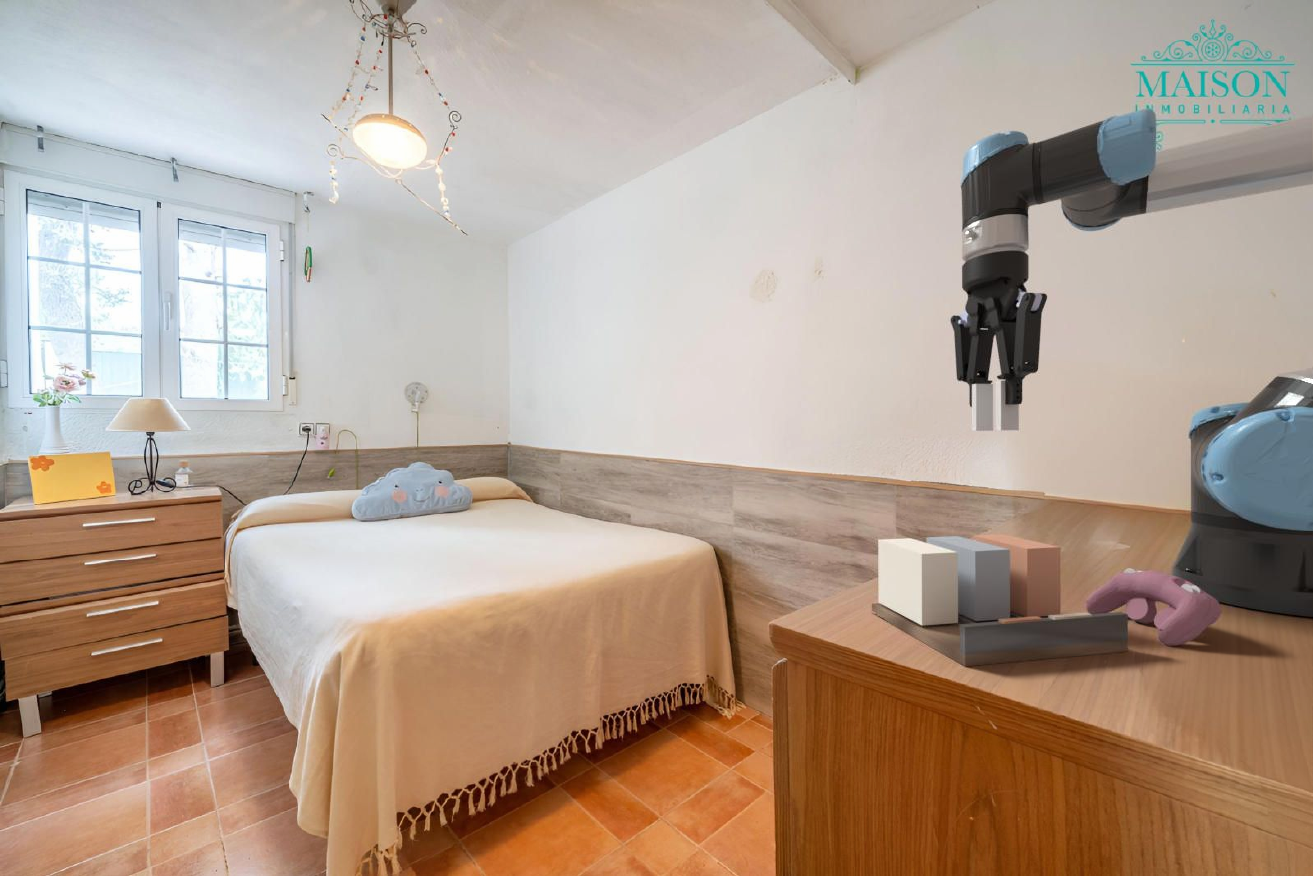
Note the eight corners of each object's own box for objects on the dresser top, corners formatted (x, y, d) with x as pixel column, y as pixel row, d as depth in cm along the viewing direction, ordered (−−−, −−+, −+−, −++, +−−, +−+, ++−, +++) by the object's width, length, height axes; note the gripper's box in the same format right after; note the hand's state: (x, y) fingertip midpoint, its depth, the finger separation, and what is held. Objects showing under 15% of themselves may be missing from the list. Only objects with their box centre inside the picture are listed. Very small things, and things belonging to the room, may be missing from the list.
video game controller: (1207, 665, 47) (1242, 598, 47) (1163, 643, 47) (1197, 576, 47) (1113, 625, 57) (1142, 570, 57) (1076, 607, 57) (1105, 551, 57)
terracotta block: (973, 596, 58) (972, 535, 58) (1002, 594, 59) (1002, 534, 59) (1027, 617, 51) (1027, 548, 51) (1060, 614, 52) (1060, 547, 52)
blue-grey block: (926, 599, 57) (926, 537, 57) (957, 597, 58) (957, 536, 58) (975, 621, 50) (975, 551, 50) (1010, 618, 51) (1009, 549, 51)
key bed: (871, 612, 57) (871, 580, 57) (1002, 603, 60) (1002, 573, 60) (965, 666, 43) (964, 624, 43) (1127, 651, 46) (1127, 612, 46)
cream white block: (878, 602, 56) (878, 539, 56) (910, 600, 57) (910, 538, 57) (921, 625, 49) (921, 554, 49) (957, 622, 50) (957, 552, 50)
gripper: (927, 275, 76) (927, 431, 76) (1024, 231, 60) (1024, 429, 60) (970, 277, 77) (971, 431, 77) (1077, 235, 61) (1078, 429, 61)
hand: (994, 430), depth 69 cm, fingers open, 3 cm apart
